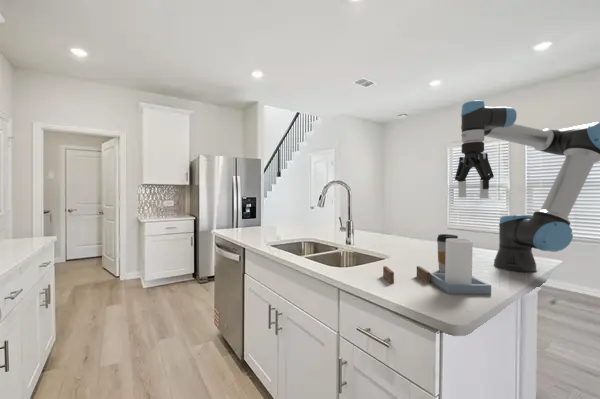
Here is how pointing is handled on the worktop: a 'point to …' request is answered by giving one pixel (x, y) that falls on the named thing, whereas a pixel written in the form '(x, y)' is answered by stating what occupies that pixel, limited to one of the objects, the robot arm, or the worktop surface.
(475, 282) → the tray
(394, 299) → the worktop surface
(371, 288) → the worktop surface
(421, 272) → the clip rails
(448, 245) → the cup
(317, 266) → the worktop surface
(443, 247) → the coffee cup
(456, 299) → the worktop surface
